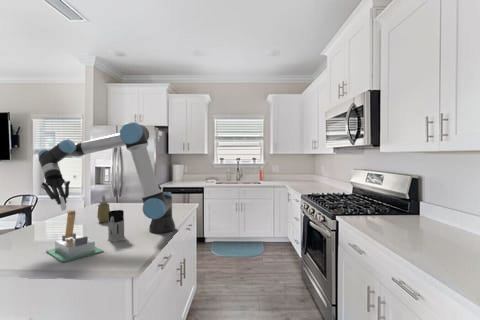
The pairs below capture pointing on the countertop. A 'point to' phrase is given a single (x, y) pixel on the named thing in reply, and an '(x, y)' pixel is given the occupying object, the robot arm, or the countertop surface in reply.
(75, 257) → the green base fixture
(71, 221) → the tan rectangular bar
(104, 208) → the squeeze bottle
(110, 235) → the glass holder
